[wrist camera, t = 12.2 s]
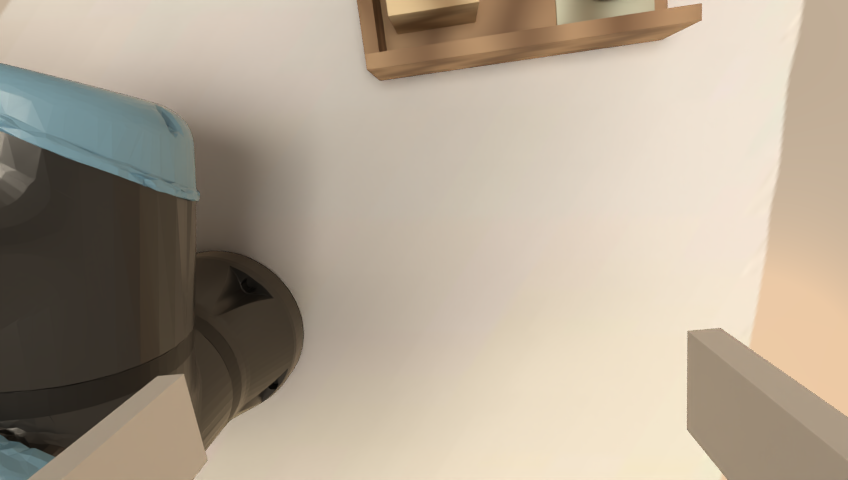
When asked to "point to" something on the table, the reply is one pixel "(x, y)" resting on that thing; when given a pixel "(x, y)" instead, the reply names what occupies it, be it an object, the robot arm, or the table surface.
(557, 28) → the bay
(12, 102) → the robot arm
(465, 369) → the table surface
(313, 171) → the table surface
